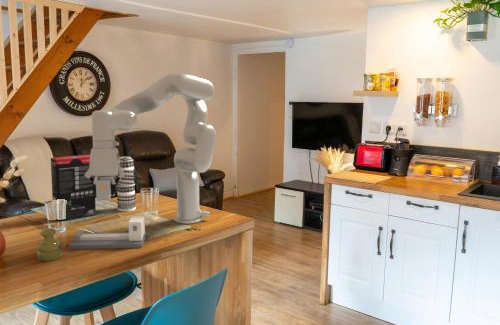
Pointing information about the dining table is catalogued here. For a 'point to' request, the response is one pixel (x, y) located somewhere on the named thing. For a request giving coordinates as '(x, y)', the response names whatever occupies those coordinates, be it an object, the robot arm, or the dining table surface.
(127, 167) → the striped tall cylinder
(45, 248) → the olive green chess pawn
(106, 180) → the grey module
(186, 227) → the dining table surface
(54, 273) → the dining table surface
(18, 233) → the dining table surface
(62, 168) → the graphics card box
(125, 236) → the rail board
